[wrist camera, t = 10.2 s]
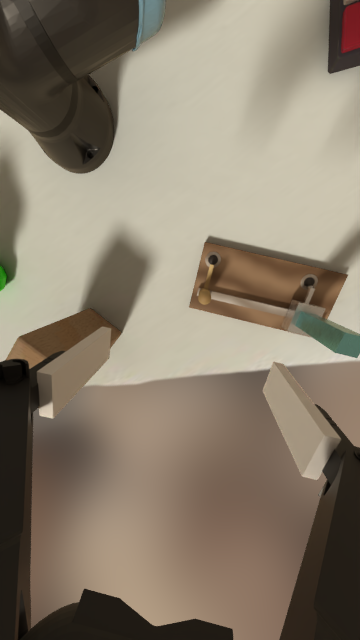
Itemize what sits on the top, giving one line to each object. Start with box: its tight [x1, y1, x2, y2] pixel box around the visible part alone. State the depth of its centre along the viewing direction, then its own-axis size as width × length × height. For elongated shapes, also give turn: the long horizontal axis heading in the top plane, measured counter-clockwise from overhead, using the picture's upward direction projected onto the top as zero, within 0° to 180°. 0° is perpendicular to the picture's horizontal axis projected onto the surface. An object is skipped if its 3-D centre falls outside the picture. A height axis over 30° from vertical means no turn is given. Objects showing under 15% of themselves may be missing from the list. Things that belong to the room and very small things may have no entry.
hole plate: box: [189, 242, 348, 331], centre depth 39 cm, size 14×29×9 cm, turn 77°
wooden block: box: [6, 309, 121, 408], centre depth 41 cm, size 10×10×20 cm
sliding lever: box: [281, 285, 360, 358], centre depth 33 cm, size 9×5×16 cm, turn 168°
